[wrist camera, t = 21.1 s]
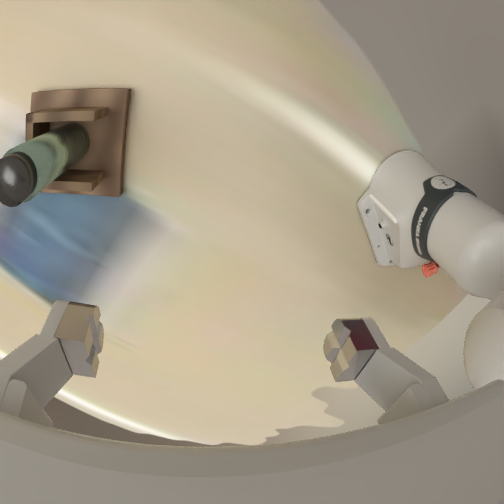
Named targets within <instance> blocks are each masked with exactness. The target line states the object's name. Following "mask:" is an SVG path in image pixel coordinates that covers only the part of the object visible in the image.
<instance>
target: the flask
mask: <svg viewBox="0 0 504 504" xmlns="http://www.w3.org/2000/svg"><path fill="white" fill-rule="evenodd" d="M89 145H90V138H89V135H88V132H87V131H86V129H85V128H84V127H83V126H82V125H80V124H77V123H69V124H66V125H64V126H61V127H59V128H56V129H54V130H51V131H49V132H47V133H44V134H42V135H40V136H37V137H35V138H33V139H31V140H29V141H27V142H25V143H22V144H20V145H18V146H16V147H14V148H12V149H10V150H9V151H8V152H7V153H6V154H5V155H4V156H3V158H2V159H0V202H1V203H3V204H4V205H6V206H9V207H15V206H18V205H19V204H21V203H22V202H26V201H29V200H31V199H32V198H33V197H34V196H36V195H37V194H38V193H39V192H40V191H41V190H43V189H44V188H45V187H46V186H47V185H49V184H50V183H51V182H52V181H54V180H55V179H56V178H57V177H59V176H60V175H61V174H62V173H64V172H65V171H66V170H68V169H69V168H70V167H71V166H73V165H74V164H75V163H77V162H78V161H80V160H81V159H82V158H83V157H84V156H85V155H86V154H87V152H88V149H89Z"/></svg>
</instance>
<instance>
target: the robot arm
mask: <svg viewBox="0 0 504 504" xmlns="http://www.w3.org/2000/svg"><path fill="white" fill-rule="evenodd" d="M357 206H358V210H359V212H360V215H361V218H362V221H363V223H364V226H365V229H366V232H367V235H368V237H369V240H370V243H371V246H372V249H373V252H374V255H375V258H376V261H377V263H378V264H379V265H381V266H393V265H397V266H398V267H400V268H404V269H408V268H414V267H417V266H420V265H422V264H424V263H426V262H428V261H431V262H430V263H428V264H424V265H422V272H423V274H424V276H426V277H429V276H431V275H432V274H434V273H436V272H437V268H439V267H441V268H442V269H443V270H444V271H445V272H446V273H447V274H448V275H449V276H450V277H451V278H452V279H453V280H454V282H455V283H456V284H457V285H458V286H459V287H460V288H461V289H462V290H463V291H465V292H466V293H468V294H470V295H473V296H476V297H482V298H488V299H491V300H492V301H491V302H489V303H488V304H487V305H486V306H485V307H484V308H483V309H482V310H481V311H480V312H479V313H478V314H477V315H476V316H475V317H474V318H473V320H472V321H471V323H470V325H469V327H468V329H467V332H466V337H465V342H464V353H463V354H464V366H465V371H466V374H467V378H468V380H469V382H470V384H471V386H472V388H473V389H474V390H473V391H471V392H469V393H467V394H464V395H462V396H460V397H458V398H455V399H453V400H450V401H449V399H448V398H447V396H446V394H445V392H444V391H443V389H442V387H441V386H440V384H439V382H438V380H437V379H436V377H434V376H433V375H432V374H430V373H429V372H427V371H426V370H424V369H423V368H422V367H420V366H419V365H417V364H416V363H415V362H413V361H412V360H410V359H409V358H408V357H406V356H405V355H403V354H402V353H400V352H399V351H398V350H396V349H395V348H390V346H389V344H388V343H387V341H386V339H385V338H384V336H383V334H382V332H381V331H380V329H379V327H378V326H377V324H376V322H375V321H374V320H373V319H372V318H353V319H336V320H335V321H334V322H333V324H332V326H331V327H332V330H333V331H331V332H330V333H329V334H327V336H326V338H325V340H324V346H323V349H324V354H325V357H326V359H327V360H328V361H330V362H331V363H332V364H331V366H330V370H331V372H332V374H333V377H334V379H335V382H341V381H351V380H355V382H356V383H357V384H358V385H359V386H360V387H361V388H362V389H363V390H364V391H365V392H366V393H367V394H368V395H369V396H371V398H372V399H373V400H374V401H376V403H378V404H379V405H380V406H381V407H382V408H383V409H384V410H385V411H386V412H385V413H384V414H383V415H381V416H380V417H379V419H378V424H379V425H375V426H371V427H367V428H363V429H359V430H355V431H350V432H346V433H341V434H336V435H331V436H326V437H319V438H313V439H307V440H300V441H293V442H285V443H276V444H266V445H252V446H234V447H180V446H163V445H150V444H140V443H131V442H123V441H116V440H109V439H103V438H97V437H92V436H86V435H82V434H77V433H73V432H68V431H64V430H60V429H56V428H52V426H53V423H52V421H51V419H50V418H49V417H48V415H47V414H46V413H45V411H44V410H43V408H44V407H45V406H46V404H47V403H48V402H49V401H50V400H51V399H52V398H53V397H54V396H55V394H56V393H57V392H58V391H59V390H60V389H61V388H62V387H63V386H64V385H65V383H66V382H67V381H68V380H69V379H70V378H71V377H72V376H73V375H72V374H74V375H81V376H87V377H95V378H96V374H97V369H98V365H99V359H98V356H97V355H98V354H99V353H100V352H101V351H102V347H103V339H104V332H103V325H102V323H101V322H100V321H99V318H100V315H101V314H100V310H99V307H98V306H95V305H89V304H82V303H76V302H68V301H63V300H56V301H55V302H54V304H53V306H52V308H51V310H50V313H49V315H48V317H47V319H46V322H45V324H44V326H43V328H42V331H41V333H40V335H38V334H36V335H34V336H33V337H32V338H30V339H29V340H27V341H26V342H25V343H23V344H22V345H21V346H19V347H18V348H17V349H15V350H14V351H12V352H11V353H10V354H8V355H7V356H6V357H5V358H3V359H2V360H1V361H0V504H504V216H503V215H502V214H501V213H499V212H498V211H496V210H495V209H493V208H492V207H490V206H489V205H487V204H486V203H484V202H483V201H481V200H480V199H478V198H477V196H476V195H475V193H473V192H472V191H471V190H469V189H468V188H467V187H465V186H463V185H462V184H460V183H459V182H457V181H455V180H453V179H450V178H448V177H446V176H444V175H443V174H442V173H440V172H439V171H438V170H437V169H436V168H435V167H434V166H433V165H431V164H430V163H429V162H428V160H427V159H426V158H425V157H424V156H422V155H421V154H419V153H417V152H415V151H408V150H407V151H401V152H398V153H395V154H393V155H392V156H390V157H389V158H387V159H386V160H385V161H384V162H383V163H382V164H381V165H380V167H379V168H378V170H377V171H376V173H375V175H374V177H373V179H372V182H371V184H370V187H369V188H368V190H367V191H366V192H365V193H364V195H363V196H362V197H361V198H360V200H359V201H358V205H357ZM367 209H368V211H367V212H366V210H367ZM390 260H391V261H390Z"/></svg>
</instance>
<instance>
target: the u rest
mask: <svg viewBox="0 0 504 504" xmlns="http://www.w3.org/2000/svg"><path fill="white" fill-rule="evenodd" d="M130 91H131V89H126V88H91V89H67V90H53V91H42V92H34V93H32V98H31V113H28V114H26V142H27V141H29V140H31V139H33V138H35V137H37V136H40V135H42V134H44V133H47V132H49V131H51V130H54V129H56V128H59V127H61V126H64V125H66V124H69V123H77V124H80V125H82V126H83V127H84V128H85V129H86V131H87V132H88V135H89V138H90V145H89V149H88V152H87V154H86V155H85V156H84V157H83V158H82V159H81V160H80V161H78V162H77V163H75V164H74V165H73V166H71V167H70V168H69V169H68V170H66V171H65V172H64V173H62V174H61V175H60V176H59V177H57V178H56V179H55V180H54V181H52V182H51V183H50V184H49V185H47V186H46V187H45V188H44V189H43V190H41V191H40V192H48V193H68V194H85V195H101V196H115V197H120V195H121V194H122V181H123V161H124V146H125V134H126V124H127V115H128V106H129V99H130Z"/></svg>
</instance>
